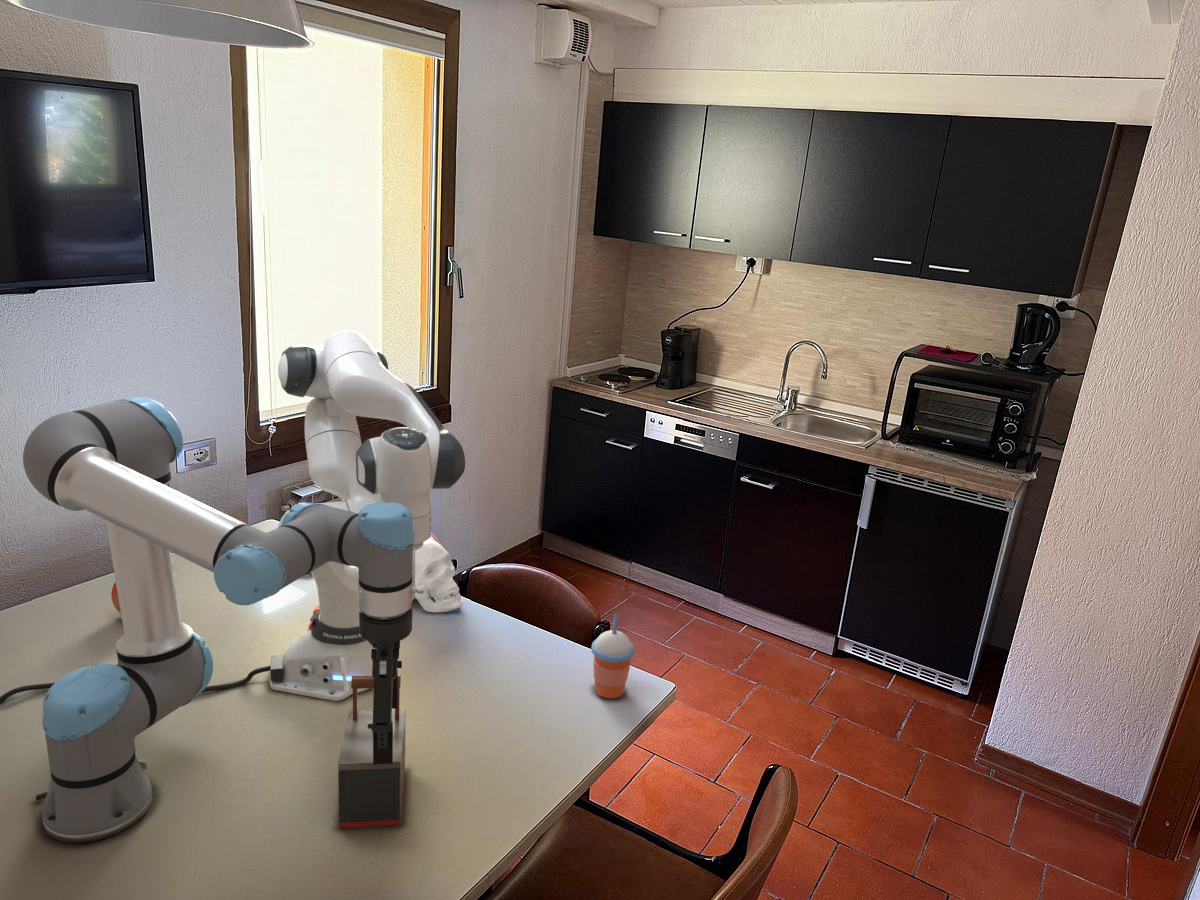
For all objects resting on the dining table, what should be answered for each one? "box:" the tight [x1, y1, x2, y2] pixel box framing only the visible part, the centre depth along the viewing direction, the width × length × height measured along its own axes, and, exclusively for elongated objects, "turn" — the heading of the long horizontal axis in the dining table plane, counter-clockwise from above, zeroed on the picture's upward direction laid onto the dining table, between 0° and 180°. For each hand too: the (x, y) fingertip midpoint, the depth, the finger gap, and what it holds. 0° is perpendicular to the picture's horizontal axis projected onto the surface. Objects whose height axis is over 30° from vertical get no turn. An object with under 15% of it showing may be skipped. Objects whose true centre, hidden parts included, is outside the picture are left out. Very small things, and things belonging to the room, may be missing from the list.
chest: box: [337, 727, 406, 829], centre depth 144 cm, size 13×10×11 cm
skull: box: [414, 538, 465, 614], centre depth 211 cm, size 13×22×16 cm, turn 67°
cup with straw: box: [590, 613, 636, 699], centre depth 179 cm, size 9×9×18 cm
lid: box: [337, 674, 407, 771], centre depth 141 cm, size 14×10×10 cm
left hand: (386, 733), depth 130 cm, fingers open, 13 cm apart
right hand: (403, 601), depth 146 cm, fingers open, 8 cm apart
